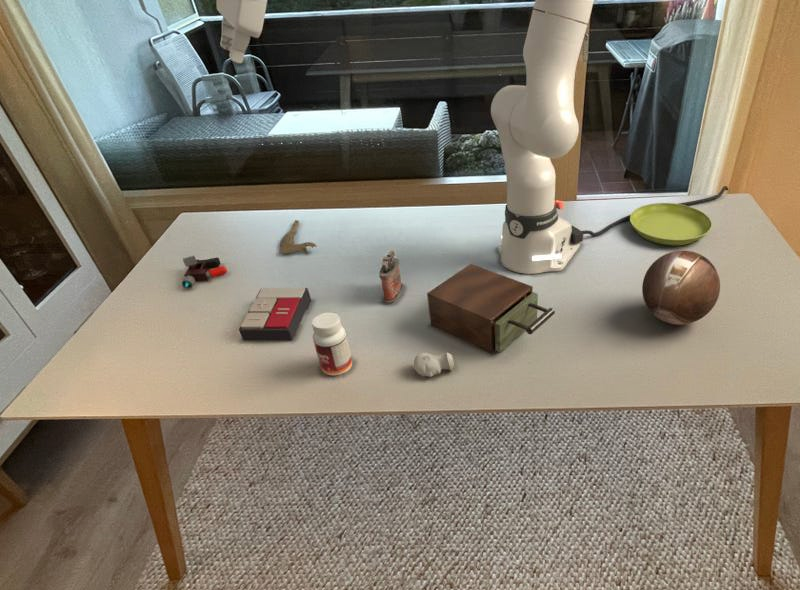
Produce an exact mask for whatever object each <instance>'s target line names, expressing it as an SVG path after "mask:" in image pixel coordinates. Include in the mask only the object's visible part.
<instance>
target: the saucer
mask: <svg viewBox="0 0 800 590" xmlns="http://www.w3.org/2000/svg"><path fill="white" fill-rule="evenodd" d="M629 215H630V219H629V221H630V224H631V227H632V228H633V229H634V231H636V232H637V234H639V235H640V236H641V237H642V238H643V239H645V240H647V241H649V242H652V243H654V244H658V245H663V246H684V245H688V244H691V243H695V242H696V241H699V240H700V239H702V238H703V237H704V236H706V235H708V233H709V232H710V231H711V230H712V227H713V222H712V219H711V218H710V217H709V216H708V215H707V214H706V213H705V212H703V211H702V210H700V209H697V208H696V207H693V206H690V205H681V204H679V203H673V202H656V203H649V204H644V205H642V206H639V207H637V208H636V209H634V210H633V211H632V212H631V213H630V214H629Z"/></svg>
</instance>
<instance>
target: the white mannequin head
mask: <svg viewBox="0 0 800 590" xmlns="http://www.w3.org/2000/svg"><path fill="white" fill-rule="evenodd" d="M413 368H414V370H415V371H416V373H417V374H418V375H420V376H422V377H429V378H432V377H433V376H435V375H440V374H441V372H442V370H449V371H450V372H452V371H453V370H455V362H454V357H453V354H452V353H449V352H445V353H444V354H440V355H439V354H438V355H434V354H432V353H427V352H421V353H418V354H416V356H415V357H414V358H413Z"/></svg>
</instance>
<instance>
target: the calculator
mask: <svg viewBox="0 0 800 590" xmlns="http://www.w3.org/2000/svg"><path fill="white" fill-rule="evenodd" d="M259 289H260V290H259V291H258V293H257V295H256V297H255V299H253V302H252V304H251V305H250V308H249V310H247V313H246V315H245V316H244V319H243V320H242V322H241V323H240V326H239V328H238V332H239V335H240V337H241V339H242V340H243V341H293V340H294V338H295V336H296V335H297V331H298V329H299V327H300V325H301V322H302V320H303V317H304V315H305V313H306V311H308V309H309V307H310V305H311V302H312V297H311V294H310V291H309V288H308V287H262V288H259Z"/></svg>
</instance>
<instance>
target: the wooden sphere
mask: <svg viewBox="0 0 800 590" xmlns="http://www.w3.org/2000/svg"><path fill="white" fill-rule="evenodd" d="M641 292H642V298H643V301H644V303H645V306H646V307H647V309H648V310H649V311H650V313H651V314H652V315H653V316H654V317H655V318H657V319H658V320H660V321H662V322H664V323H667V324H671V325H677V326H678V325H679V326H680V325H689V324H693V323H695V322H698V321H699V320H701V319H703V318H704V317H705V316H707V315H708V314H710V312H711V311H712V309H714V307H715V306H716V304H717V301H718V299H719V296H720V292H721V280H720V276H719V273H718V269H716V267H715V265H714V264H713V263H712V262H711V260H709V259H708V258H707V257H705V256H704V255H702V254H701V253H698V252H695V251H691V250H684V249H683V250H674V251H670V252H668V253H665V254H663V255H661V256H660V257H658V258H657V259H656V260H654V261H653V262H652V264H651V265H650V266H649V267H648V269H647V270H646V272H645V274H644V277H643V280H642V287H641Z"/></svg>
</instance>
